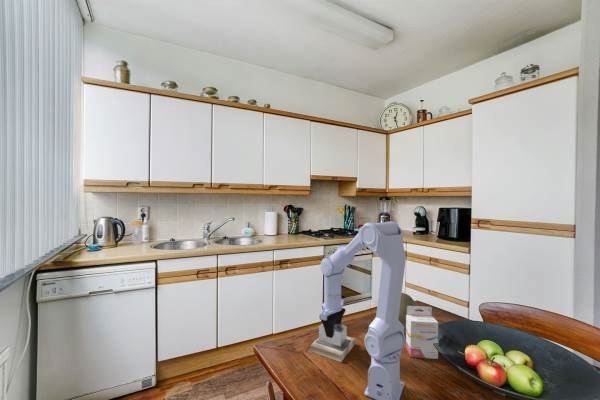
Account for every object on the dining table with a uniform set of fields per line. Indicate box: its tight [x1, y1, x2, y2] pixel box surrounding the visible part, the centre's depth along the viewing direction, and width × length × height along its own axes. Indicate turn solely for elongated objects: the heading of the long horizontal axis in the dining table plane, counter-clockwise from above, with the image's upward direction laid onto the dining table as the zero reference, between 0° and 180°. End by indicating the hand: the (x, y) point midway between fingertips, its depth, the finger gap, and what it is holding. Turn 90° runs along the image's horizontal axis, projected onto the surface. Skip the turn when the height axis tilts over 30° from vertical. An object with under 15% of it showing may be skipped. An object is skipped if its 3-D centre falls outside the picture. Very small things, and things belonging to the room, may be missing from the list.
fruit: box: [398, 292, 419, 336], centre depth 97 cm, size 11×11×15 cm
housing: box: [318, 322, 348, 348], centre depth 87 cm, size 5×8×6 cm, turn 57°
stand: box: [309, 335, 356, 363], centre depth 87 cm, size 12×11×2 cm
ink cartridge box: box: [405, 305, 439, 360], centre depth 83 cm, size 9×5×15 cm, turn 84°
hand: (333, 333), depth 87 cm, fingers closed on housing, 5 cm apart
